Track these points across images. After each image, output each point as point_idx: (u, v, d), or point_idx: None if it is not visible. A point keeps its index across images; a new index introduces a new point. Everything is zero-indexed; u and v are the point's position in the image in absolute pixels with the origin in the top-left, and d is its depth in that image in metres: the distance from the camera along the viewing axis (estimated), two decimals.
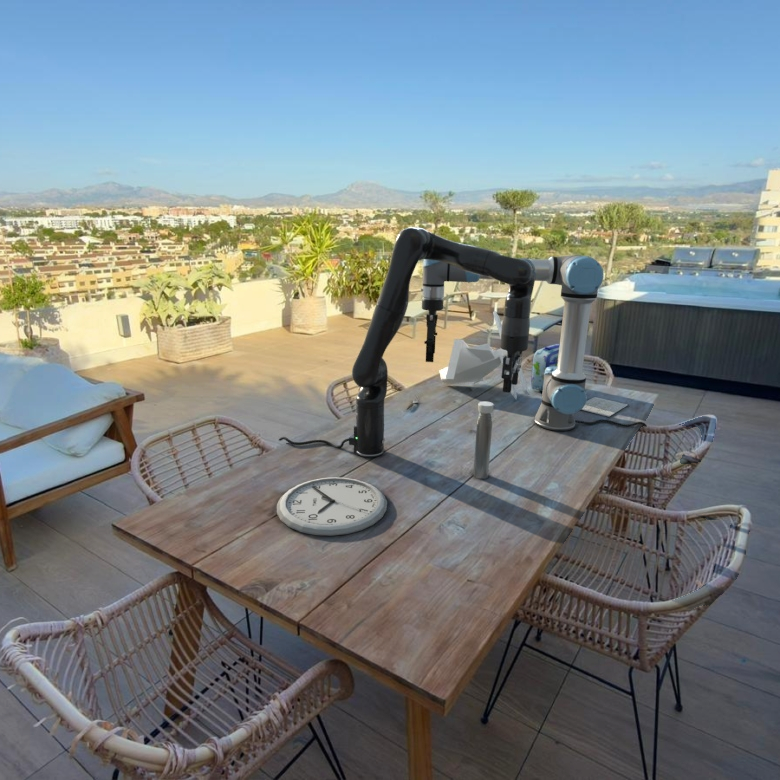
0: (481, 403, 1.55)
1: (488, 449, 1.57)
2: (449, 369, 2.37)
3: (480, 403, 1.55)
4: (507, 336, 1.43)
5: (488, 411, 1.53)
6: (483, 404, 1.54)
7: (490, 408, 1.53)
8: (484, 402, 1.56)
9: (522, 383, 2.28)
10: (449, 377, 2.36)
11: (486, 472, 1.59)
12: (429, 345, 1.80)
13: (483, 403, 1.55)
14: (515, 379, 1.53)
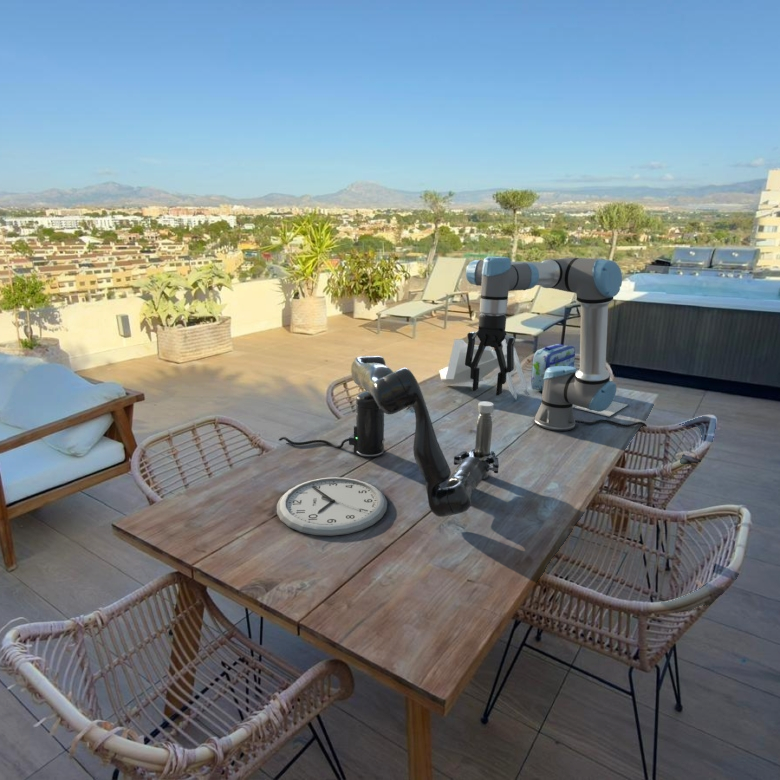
0: (481, 403, 1.55)
1: (488, 449, 1.57)
2: (449, 369, 2.37)
3: (480, 403, 1.55)
4: None
5: (488, 411, 1.53)
6: (483, 404, 1.54)
7: (490, 408, 1.53)
8: (484, 402, 1.56)
9: (522, 383, 2.28)
10: (449, 377, 2.36)
11: (486, 472, 1.59)
12: None
13: (483, 403, 1.55)
14: None
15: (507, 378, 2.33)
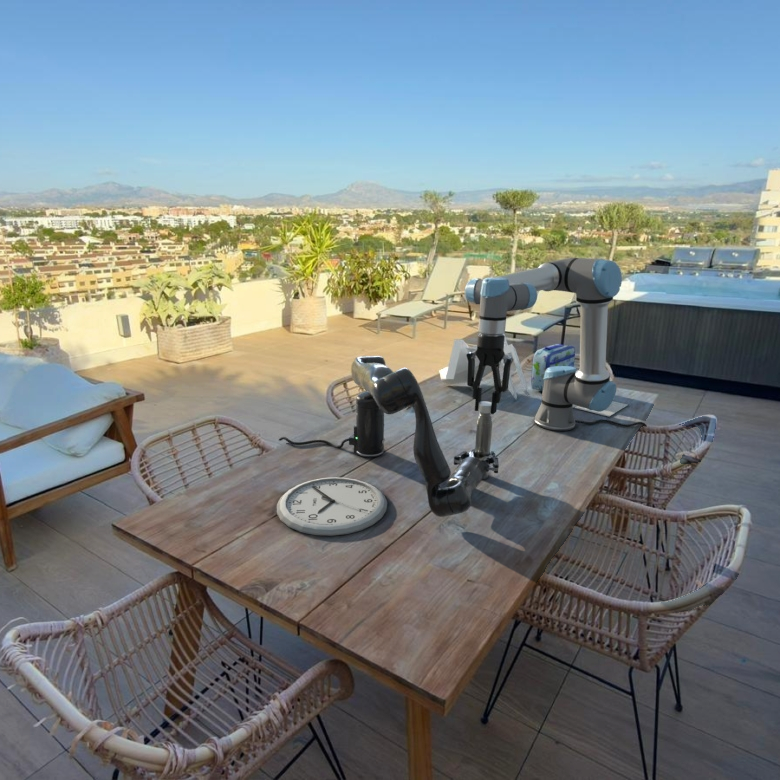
0: (481, 403, 1.55)
1: (488, 449, 1.57)
2: (449, 369, 2.37)
3: (480, 403, 1.55)
4: None
5: (488, 411, 1.53)
6: (483, 404, 1.54)
7: (490, 408, 1.53)
8: (484, 402, 1.56)
9: (522, 383, 2.28)
10: (449, 377, 2.36)
11: (486, 472, 1.59)
12: None
13: (483, 403, 1.55)
14: None
15: None
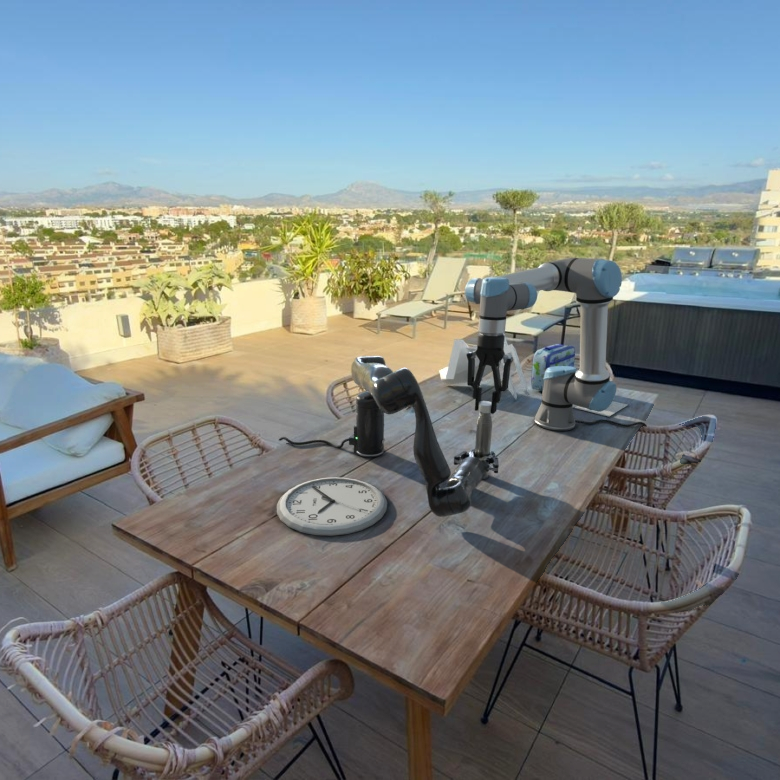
0: (486, 404, 1.53)
1: (488, 449, 1.57)
2: (449, 369, 2.37)
3: (487, 405, 1.53)
4: None
5: None
6: (489, 404, 1.54)
7: None
8: (482, 403, 1.54)
9: (522, 383, 2.28)
10: (449, 377, 2.36)
11: (486, 472, 1.59)
12: None
13: (486, 404, 1.54)
14: None
15: None
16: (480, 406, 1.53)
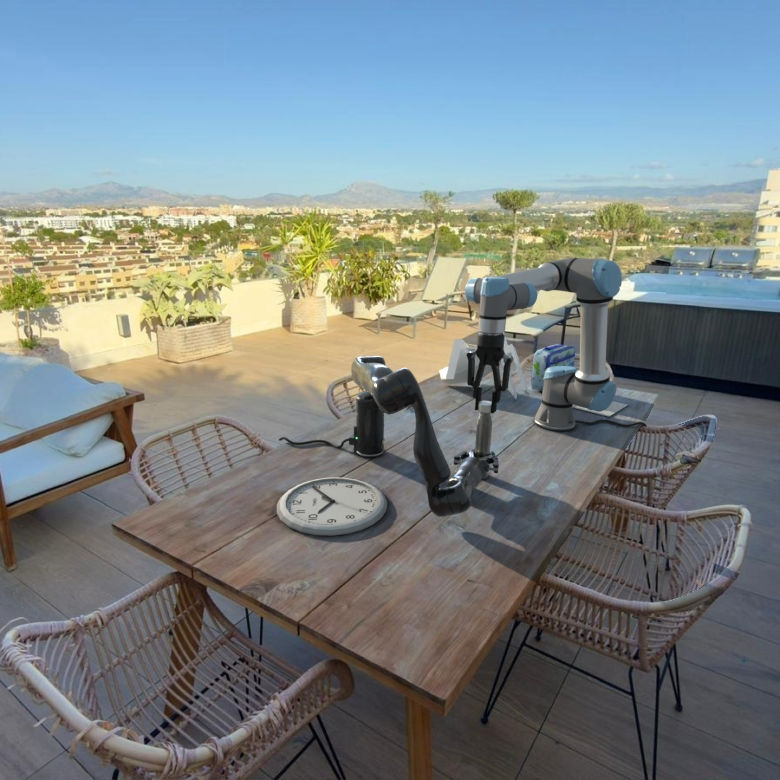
0: (490, 402, 1.55)
1: (488, 449, 1.57)
2: (449, 369, 2.37)
3: (491, 402, 1.55)
4: None
5: None
6: (487, 402, 1.55)
7: None
8: (488, 404, 1.53)
9: (522, 383, 2.28)
10: (449, 377, 2.36)
11: (486, 472, 1.59)
12: None
13: (488, 403, 1.54)
14: None
15: None
16: None
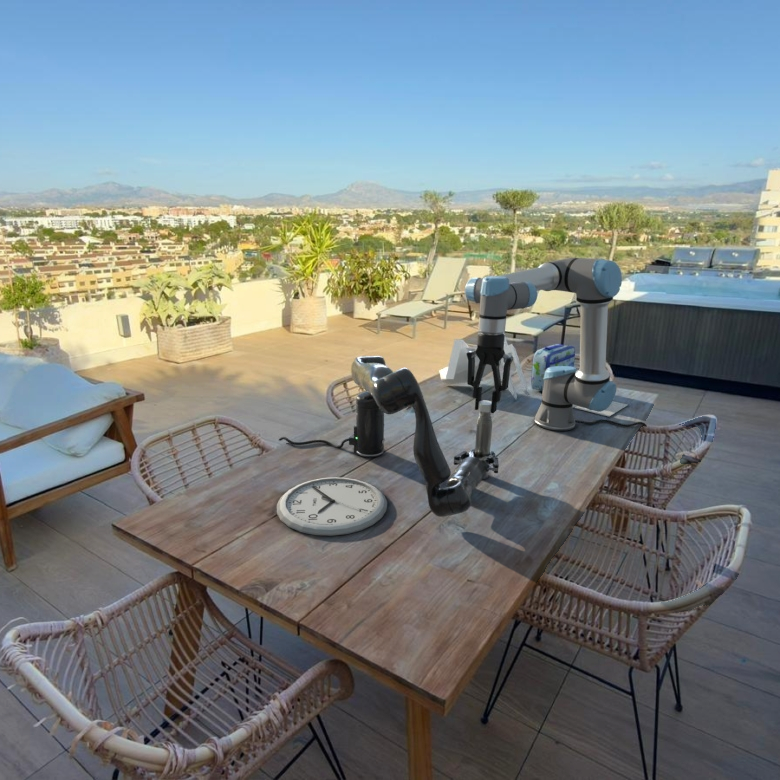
0: (484, 401, 1.56)
1: (488, 449, 1.57)
2: (449, 369, 2.37)
3: (483, 400, 1.56)
4: None
5: (480, 409, 1.54)
6: (482, 402, 1.55)
7: (482, 407, 1.53)
8: (489, 402, 1.55)
9: (522, 383, 2.28)
10: (449, 377, 2.36)
11: (486, 472, 1.59)
12: None
13: (485, 401, 1.55)
14: None
15: None
16: None
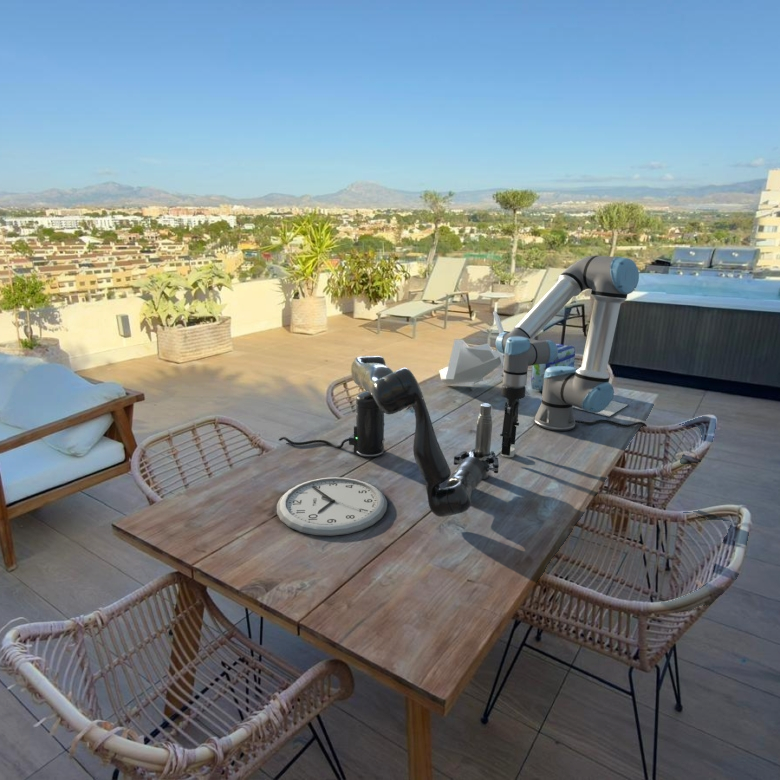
0: None
1: (488, 449, 1.57)
2: (449, 369, 2.37)
3: None
4: None
5: (512, 455, 1.75)
6: None
7: (513, 452, 1.75)
8: None
9: None
10: (449, 377, 2.36)
11: (486, 472, 1.59)
12: (505, 438, 1.69)
13: None
14: None
15: None
16: None
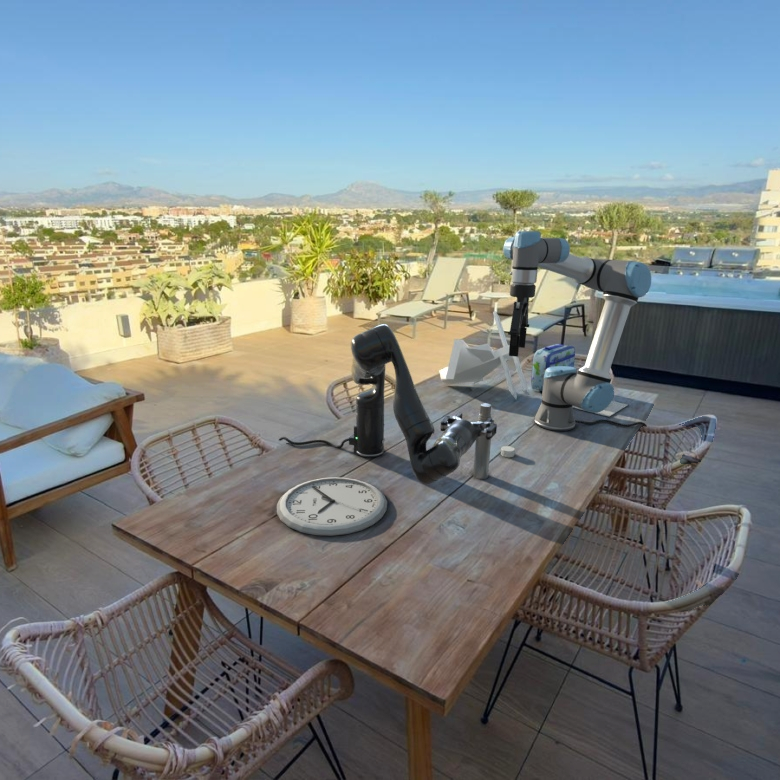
0: (504, 449, 1.76)
1: (488, 449, 1.57)
2: (449, 369, 2.37)
3: (504, 449, 1.75)
4: None
5: (512, 455, 1.75)
6: (507, 449, 1.75)
7: (513, 452, 1.75)
8: (505, 447, 1.77)
9: (522, 383, 2.28)
10: (449, 377, 2.36)
11: (486, 472, 1.59)
12: (513, 337, 1.57)
13: (505, 448, 1.76)
14: None
15: (507, 378, 2.33)
16: None
